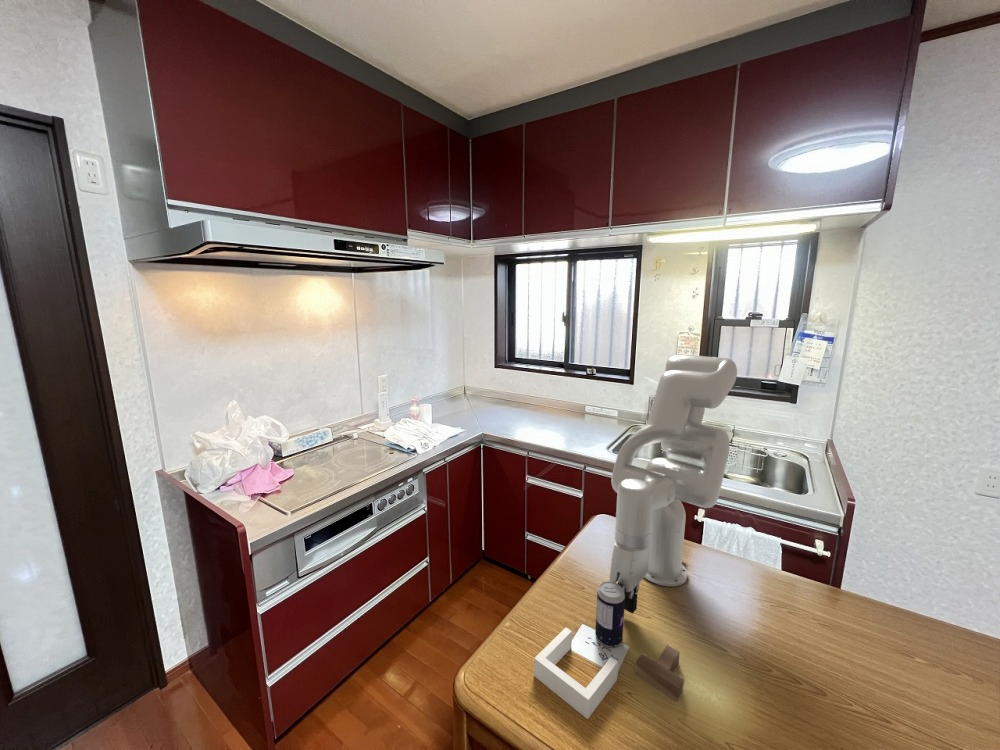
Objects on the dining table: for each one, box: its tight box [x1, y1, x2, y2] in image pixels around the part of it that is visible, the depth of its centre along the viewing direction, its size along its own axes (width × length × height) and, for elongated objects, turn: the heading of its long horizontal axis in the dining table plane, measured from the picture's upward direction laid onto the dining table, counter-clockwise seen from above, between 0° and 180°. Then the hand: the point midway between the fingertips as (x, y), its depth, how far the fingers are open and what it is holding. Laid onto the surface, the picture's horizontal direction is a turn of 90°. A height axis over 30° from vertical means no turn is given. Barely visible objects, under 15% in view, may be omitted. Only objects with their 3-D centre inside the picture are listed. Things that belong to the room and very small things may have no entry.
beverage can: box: [594, 581, 625, 648], centre depth 86 cm, size 6×6×12 cm
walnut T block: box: [635, 644, 685, 703], centre depth 79 cm, size 8×8×3 cm
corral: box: [533, 626, 619, 720], centre depth 78 cm, size 10×12×4 cm
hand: (628, 608), depth 93 cm, fingers closed
